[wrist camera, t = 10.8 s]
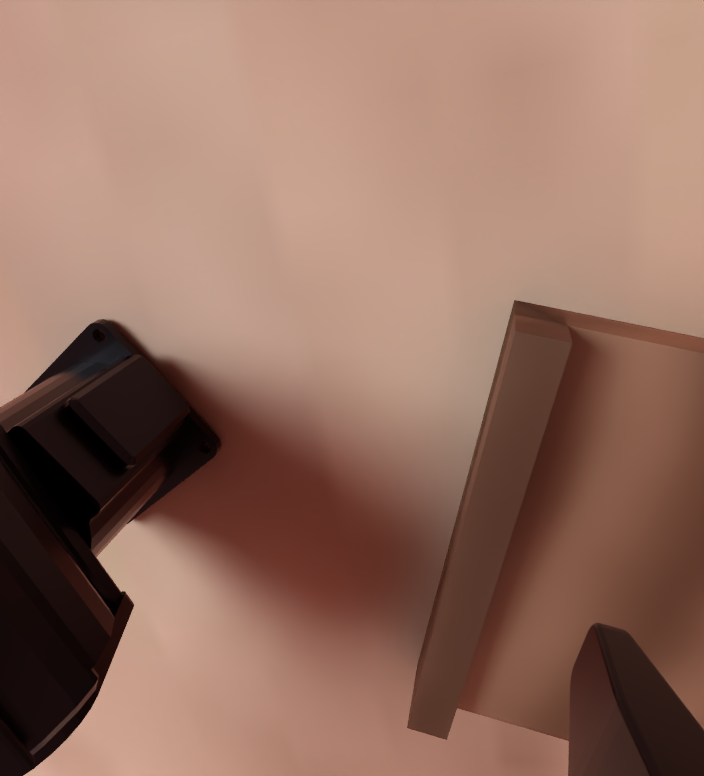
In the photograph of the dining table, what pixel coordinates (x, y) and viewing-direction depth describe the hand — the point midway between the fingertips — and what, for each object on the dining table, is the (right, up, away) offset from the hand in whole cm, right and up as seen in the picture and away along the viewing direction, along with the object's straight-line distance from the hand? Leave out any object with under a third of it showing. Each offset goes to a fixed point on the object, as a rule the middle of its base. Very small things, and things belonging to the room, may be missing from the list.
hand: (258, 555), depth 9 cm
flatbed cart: (+11, -3, +13) cm, 18 cm away
